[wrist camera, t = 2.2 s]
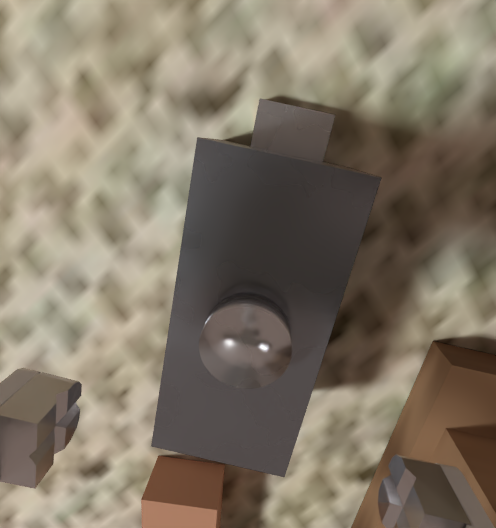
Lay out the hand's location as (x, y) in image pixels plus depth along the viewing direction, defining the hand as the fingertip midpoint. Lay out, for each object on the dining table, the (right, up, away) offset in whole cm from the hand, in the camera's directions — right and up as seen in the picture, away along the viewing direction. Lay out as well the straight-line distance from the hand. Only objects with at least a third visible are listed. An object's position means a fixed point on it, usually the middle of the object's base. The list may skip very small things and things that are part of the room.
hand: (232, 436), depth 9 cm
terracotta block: (-3, -10, +13) cm, 17 cm away
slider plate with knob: (+1, +4, +8) cm, 9 cm away
